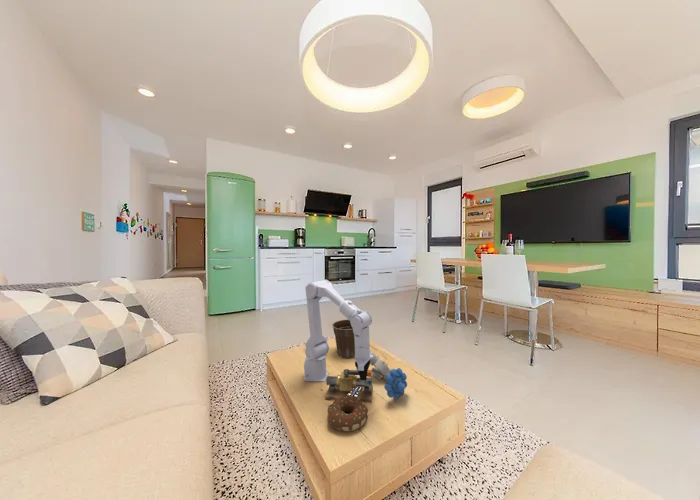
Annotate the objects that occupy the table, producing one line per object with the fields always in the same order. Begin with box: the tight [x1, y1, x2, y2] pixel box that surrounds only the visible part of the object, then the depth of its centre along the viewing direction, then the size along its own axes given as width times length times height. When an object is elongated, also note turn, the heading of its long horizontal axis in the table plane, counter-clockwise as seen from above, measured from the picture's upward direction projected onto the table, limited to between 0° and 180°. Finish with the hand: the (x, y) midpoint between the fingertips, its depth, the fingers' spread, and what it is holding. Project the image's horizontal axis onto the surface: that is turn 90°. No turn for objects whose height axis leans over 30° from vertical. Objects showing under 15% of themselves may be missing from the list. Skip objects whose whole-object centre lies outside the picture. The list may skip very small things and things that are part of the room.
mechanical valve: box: [354, 349, 393, 380], centre depth 109 cm, size 10×18×15 cm
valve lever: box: [343, 368, 373, 378], centre depth 100 cm, size 11×2×2 cm, turn 82°
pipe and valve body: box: [325, 371, 373, 394], centre depth 100 cm, size 18×5×6 cm, turn 82°
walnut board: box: [324, 384, 374, 403], centre depth 100 cm, size 18×9×1 cm, turn 82°
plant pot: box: [331, 319, 355, 359], centre depth 136 cm, size 16×16×16 cm
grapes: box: [383, 367, 408, 400], centre depth 95 cm, size 12×7×12 cm, turn 126°
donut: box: [326, 396, 369, 432], centre depth 86 cm, size 14×14×5 cm
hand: (363, 379), depth 96 cm, fingers closed
